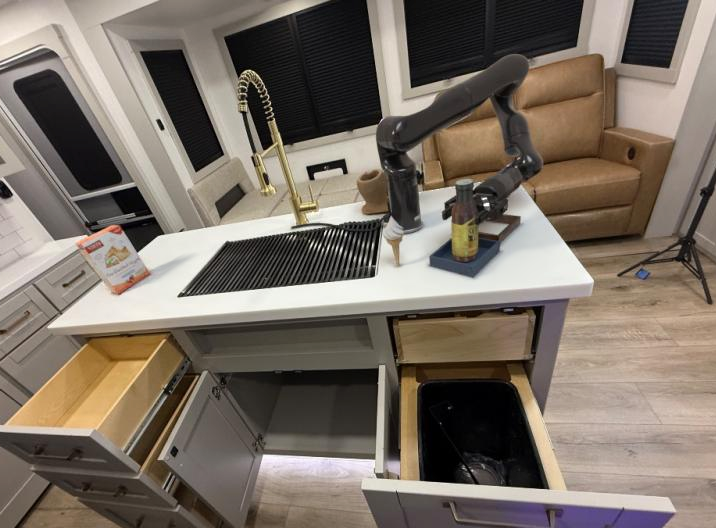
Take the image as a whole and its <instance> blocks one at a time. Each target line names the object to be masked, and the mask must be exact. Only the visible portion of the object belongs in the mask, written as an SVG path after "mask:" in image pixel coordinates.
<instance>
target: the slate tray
mask: <svg viewBox="0 0 716 528" xmlns="http://www.w3.org/2000/svg"><path fill="white" fill-rule="evenodd" d="M500 252H501V243H500V241H496V240H490V239H484V238H479V237H478V252H477V257H476V258H475V259H474V260H472V261H469V262H458V261H456V260H454V258H453V253H452V237H451V238H449V239H448V240H447V241H446V242H444V243H443V244H442V245H441V246H440V247H438V248H437V249H435V251H434V252H432V253H431V254H429V256H428V259H429V267H432V268H435V269H439V270H443V271H447V272H450V273H453V274H454V273H455V274H459V275H461V276H466V277H469V278H474V277H475V276H477V274H479V272H481V271H482V270H483V269H484V268H485V267H486V266H487V265H488V264H489V263H490V262H491V261H492V260H493V259H494V258H495V257H496V256H497V255H498V254H499V253H500Z"/></svg>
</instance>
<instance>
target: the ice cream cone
mask: <svg viewBox="0 0 716 528" xmlns="http://www.w3.org/2000/svg"><path fill="white" fill-rule="evenodd" d="M403 229H404V228H402V227H401V226H399V224H398V223H397V222H396V221H395V220H394V219H393V218H392V216H391V217H390V220H389V222H388V223H386V225H385V228H384V230H383V231H382V235H383V238H384V239H385V240H386V243H387V244H388V245H390V246H391V248H392V253H393V256H394V260H395V264H396V266H397V267H399V266H400V244H401V243H402V241H403V239H404V238H403V237H404V235H405V234H404V231H403Z"/></svg>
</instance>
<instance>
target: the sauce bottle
mask: <svg viewBox="0 0 716 528" xmlns="http://www.w3.org/2000/svg"><path fill="white" fill-rule="evenodd" d="M454 188H455V195H456V203H455V205H454V206H453V208H452V212H451V214H452V216H451V220H450V223H451V224H450V225H451V226H450V227H451V228H450V229H451V238H452V253H453V258H454V260H456V261H458V262H469V261H472V260H474V259H475V258H476V257H477V252H478V232H479V225H475V217H476V215H478V214H479V213H478V210H477V208H476V205H475V202H474V200H473V190H474V188H475V182H474V180H473V179H472V178H462V179H458V180H456V181H455V183H454Z"/></svg>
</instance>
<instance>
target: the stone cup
mask: <svg viewBox="0 0 716 528" xmlns="http://www.w3.org/2000/svg"><path fill="white" fill-rule="evenodd" d="M356 187H357V190H358V192H359V194H360V196H361V197H362V199H363V201H364V202H365V204H363V206H362V208H361V213H362V214H365V215H369V214H370V215H371V214H378V213H387V212H388V207H387V202H388V201H389V197H388V190H387V184H386V178H385V173H384V171H383V170H382V169H379V168H374V169H371V170H370V171H364V172H363V173H361V174H360V175H359V176H358V177H357V178H356Z"/></svg>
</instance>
